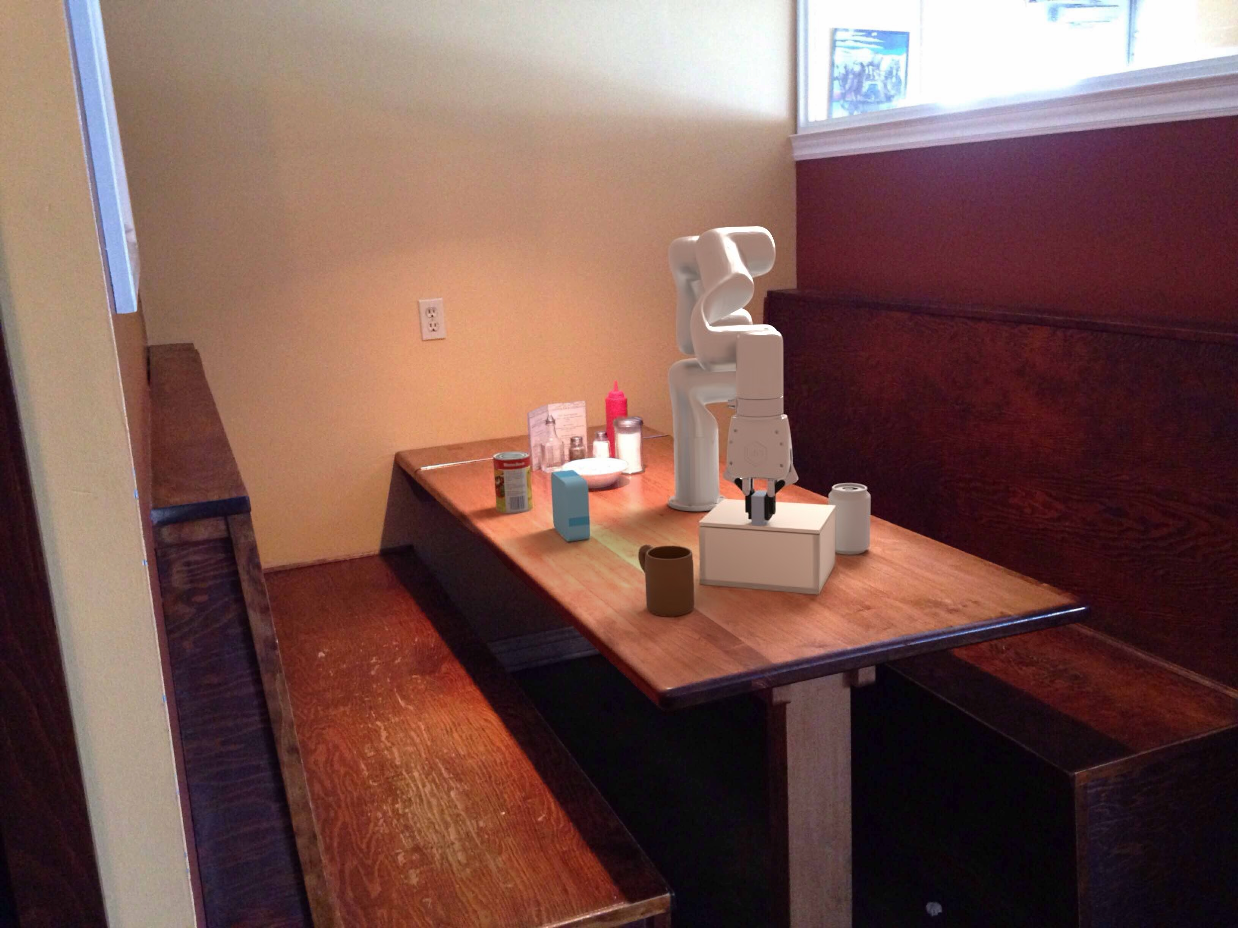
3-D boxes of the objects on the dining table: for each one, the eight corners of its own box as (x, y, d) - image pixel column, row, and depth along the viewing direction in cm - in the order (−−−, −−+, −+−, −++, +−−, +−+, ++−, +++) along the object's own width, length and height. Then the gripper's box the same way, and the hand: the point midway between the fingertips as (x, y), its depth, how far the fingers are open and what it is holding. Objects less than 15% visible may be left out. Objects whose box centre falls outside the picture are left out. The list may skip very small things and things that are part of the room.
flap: (723, 502, 189) (723, 471, 188) (835, 508, 182) (835, 477, 181) (698, 525, 174) (698, 492, 173) (819, 533, 167) (819, 499, 166)
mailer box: (724, 555, 191) (723, 502, 189) (835, 564, 184) (835, 509, 182) (699, 584, 177) (698, 527, 174) (818, 594, 169) (819, 535, 167)
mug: (622, 599, 171) (620, 544, 169) (661, 589, 175) (659, 535, 172) (664, 621, 161) (662, 563, 159) (704, 610, 165) (702, 553, 162)
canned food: (525, 502, 234) (522, 449, 231) (537, 509, 227) (534, 455, 224) (491, 507, 231) (488, 454, 228) (503, 515, 224) (500, 460, 221)
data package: (590, 541, 203) (588, 481, 201) (568, 543, 202) (565, 483, 199) (574, 525, 214) (571, 468, 212) (553, 527, 213) (550, 470, 210)
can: (871, 544, 194) (872, 482, 191) (867, 557, 187) (868, 492, 185) (831, 542, 197) (831, 480, 194) (825, 554, 190) (825, 490, 187)
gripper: (705, 410, 168) (707, 520, 172) (804, 412, 162) (804, 527, 166) (718, 402, 174) (719, 509, 178) (813, 404, 169) (813, 514, 173)
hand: (760, 516), depth 172 cm, fingers closed on flap, 2 cm apart
